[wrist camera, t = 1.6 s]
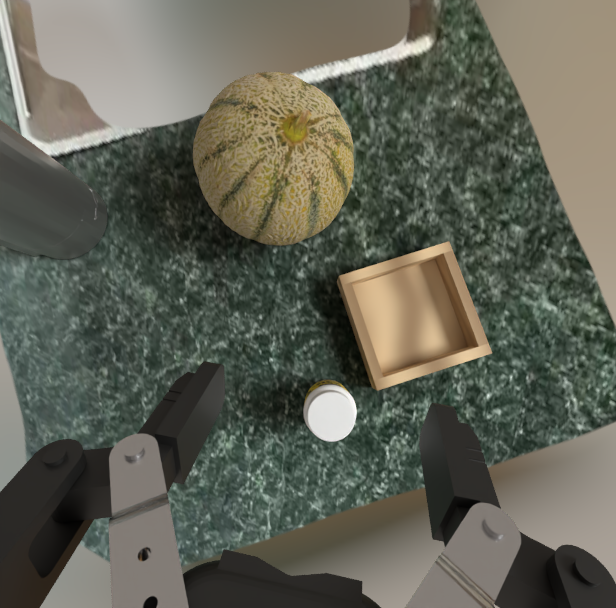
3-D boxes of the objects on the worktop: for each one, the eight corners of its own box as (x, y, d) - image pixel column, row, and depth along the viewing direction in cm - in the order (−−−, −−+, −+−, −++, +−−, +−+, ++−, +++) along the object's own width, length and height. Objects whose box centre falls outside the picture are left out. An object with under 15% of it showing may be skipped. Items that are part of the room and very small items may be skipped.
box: (371, 387, 37) (377, 390, 34) (336, 281, 38) (338, 275, 35) (477, 352, 37) (492, 353, 34) (438, 249, 39) (449, 241, 36)
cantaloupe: (208, 153, 41) (149, 39, 26) (330, 129, 41) (342, 2, 26) (230, 274, 39) (179, 226, 24) (358, 248, 39) (388, 185, 24)
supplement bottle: (339, 372, 37) (347, 378, 29) (356, 414, 37) (370, 433, 28) (297, 389, 37) (293, 400, 29) (314, 432, 36) (315, 456, 28)
